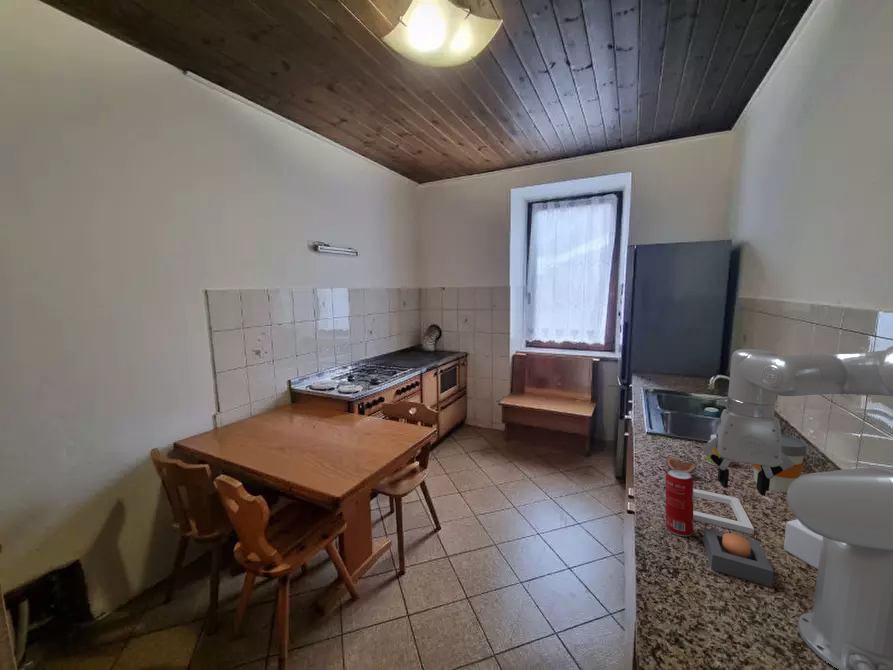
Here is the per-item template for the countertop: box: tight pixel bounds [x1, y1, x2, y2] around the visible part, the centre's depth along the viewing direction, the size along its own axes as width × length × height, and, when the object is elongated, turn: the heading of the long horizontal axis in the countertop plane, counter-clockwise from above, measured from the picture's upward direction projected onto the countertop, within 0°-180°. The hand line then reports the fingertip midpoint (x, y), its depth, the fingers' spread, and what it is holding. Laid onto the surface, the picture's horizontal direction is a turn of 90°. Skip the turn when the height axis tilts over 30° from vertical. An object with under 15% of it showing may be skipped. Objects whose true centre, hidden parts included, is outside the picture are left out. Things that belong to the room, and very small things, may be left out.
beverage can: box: [665, 469, 694, 537], centre depth 87 cm, size 6×6×15 cm
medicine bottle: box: [783, 518, 823, 570], centre depth 78 cm, size 7×7×12 cm
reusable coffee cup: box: [751, 433, 807, 494], centre depth 108 cm, size 13×13×15 cm
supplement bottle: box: [705, 434, 720, 467], centre depth 122 cm, size 5×5×10 cm
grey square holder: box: [702, 527, 775, 588], centre depth 77 cm, size 10×10×4 cm
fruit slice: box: [665, 455, 698, 475], centre depth 115 cm, size 8×7×5 cm
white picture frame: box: [693, 488, 755, 535], centre depth 96 cm, size 15×15×2 cm
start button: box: [722, 532, 751, 559], centre depth 77 cm, size 5×5×2 cm
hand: (741, 488), depth 76 cm, fingers open, 5 cm apart
